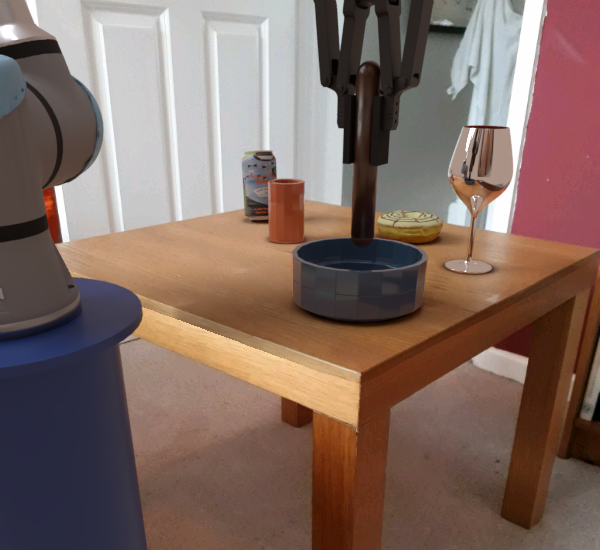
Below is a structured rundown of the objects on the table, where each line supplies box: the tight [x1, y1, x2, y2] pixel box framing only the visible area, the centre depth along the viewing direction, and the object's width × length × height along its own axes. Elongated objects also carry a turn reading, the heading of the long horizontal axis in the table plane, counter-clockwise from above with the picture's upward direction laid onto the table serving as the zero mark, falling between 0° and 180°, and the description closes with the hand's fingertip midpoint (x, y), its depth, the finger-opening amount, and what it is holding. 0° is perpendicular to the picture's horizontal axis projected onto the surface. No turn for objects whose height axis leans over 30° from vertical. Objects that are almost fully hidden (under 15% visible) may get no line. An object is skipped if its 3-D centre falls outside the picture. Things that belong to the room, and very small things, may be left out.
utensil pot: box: [268, 177, 306, 245], centre depth 100 cm, size 6×6×9 cm
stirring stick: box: [350, 59, 382, 248], centre depth 67 cm, size 3×3×19 cm
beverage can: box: [241, 149, 278, 221], centre depth 112 cm, size 6×7×12 cm
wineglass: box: [444, 124, 514, 275], centre depth 84 cm, size 8×8×18 cm
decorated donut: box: [376, 209, 444, 244], centre depth 103 cm, size 10×11×4 cm
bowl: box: [291, 236, 429, 323], centre depth 73 cm, size 15×15×6 cm
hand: (365, 163), depth 67 cm, fingers closed on stirring stick, 3 cm apart
